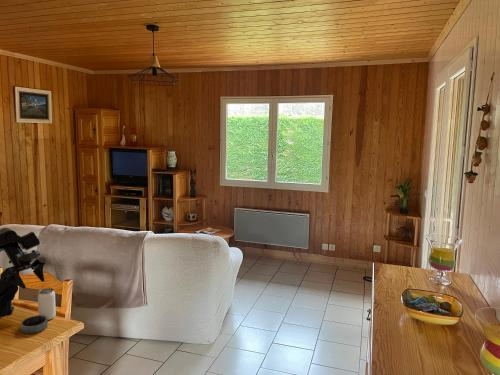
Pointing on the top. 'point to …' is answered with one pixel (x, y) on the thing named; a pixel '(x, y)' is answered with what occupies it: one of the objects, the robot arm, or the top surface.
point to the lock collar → (34, 324)
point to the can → (46, 303)
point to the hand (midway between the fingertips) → (34, 284)
